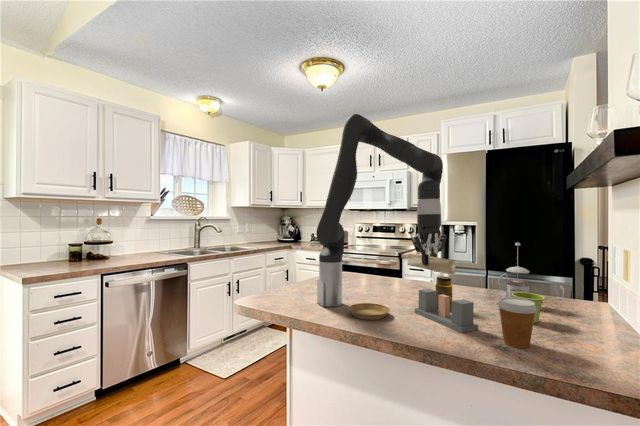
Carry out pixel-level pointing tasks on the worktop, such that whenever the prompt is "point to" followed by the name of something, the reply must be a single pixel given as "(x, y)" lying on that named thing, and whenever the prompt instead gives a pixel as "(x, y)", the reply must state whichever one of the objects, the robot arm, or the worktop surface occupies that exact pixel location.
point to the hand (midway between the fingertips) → (429, 264)
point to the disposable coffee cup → (517, 321)
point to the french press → (517, 282)
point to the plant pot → (534, 298)
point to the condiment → (444, 289)
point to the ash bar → (433, 263)
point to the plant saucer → (369, 311)
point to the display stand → (446, 311)
